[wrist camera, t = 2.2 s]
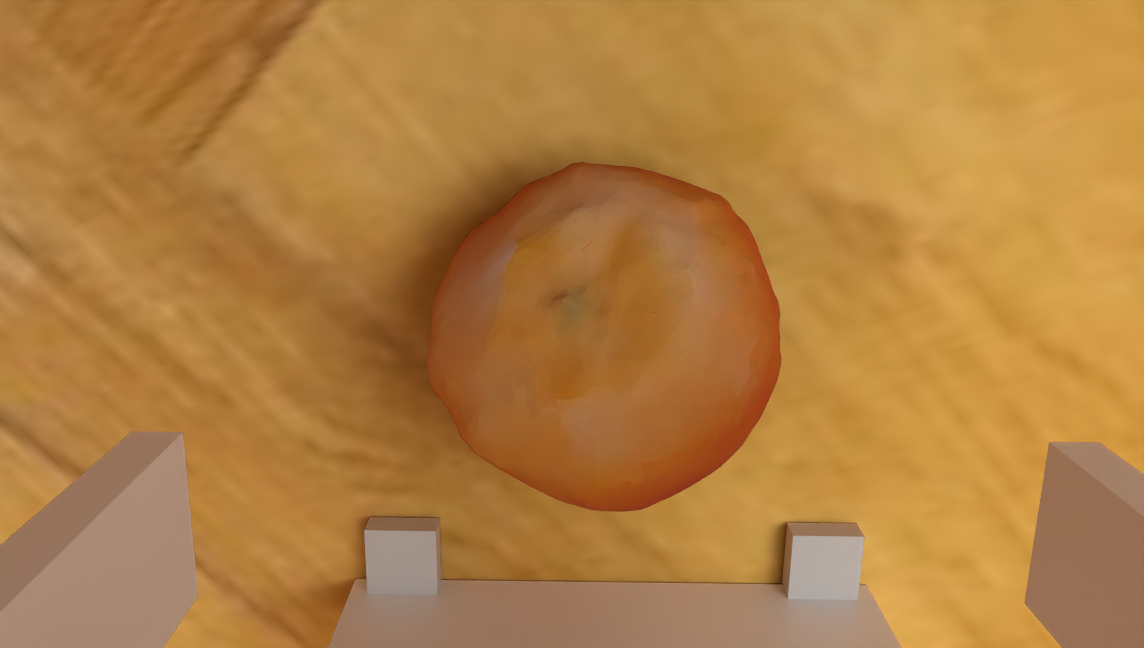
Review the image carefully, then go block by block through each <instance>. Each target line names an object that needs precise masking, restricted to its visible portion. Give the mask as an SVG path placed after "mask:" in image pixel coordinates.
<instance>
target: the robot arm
mask: <svg viewBox="0 0 1144 648" xmlns="http://www.w3.org/2000/svg"><path fill="white" fill-rule="evenodd" d="M197 597H198V586H197V575H196V565H195V554H194V544H193V533H192V522H191V512H190V501H189V491H188V480H187V470H186V459H185V448H184V438H183V432H131V433H130V434H128V435H127V436H126V437H125V438H124V439H123V440H121V441H120V442H119V443H118V444H117V445H116V446H115V447H113V448H112V449H111V450H110V451H109V452H108V453H106V454H105V455H104V456H103V457H102V458H101V459H100V460H98V461H97V462H96V463H95V464H94V465H93V466H91V467H90V468H89V469H88V470H87V471H86V472H85V473H83V474H82V475H81V476H80V477H79V478H78V479H76V480H75V481H74V482H73V483H72V484H71V485H69V486H68V487H67V488H66V489H65V490H64V491H63V492H61V493H60V494H59V495H58V496H57V497H56V498H54V499H53V500H52V501H51V502H50V503H49V504H48V505H46V506H45V507H44V508H43V509H42V510H41V511H39V512H38V513H37V514H36V515H35V516H34V517H33V518H31V519H30V520H29V521H28V522H27V523H26V524H24V525H23V526H22V527H21V528H20V529H19V530H18V531H16V532H15V533H14V534H13V535H12V536H11V537H9V538H8V539H7V540H6V541H5V542H4V543H3V544H1V545H0V648H163V647H164V645H165V644H166V643H167V641H168V640H169V638H170V637H171V635H172V634H173V632H174V631H175V629H176V628H177V626H178V625H179V623H180V622H181V620H182V619H183V617H184V616H185V615H186V613H187V612H188V610H189V609H190V607H191V606H192V604H193V603H194V601H195V600H196V598H197ZM1025 604H1026V606H1027V607H1028V608H1029V609H1030V610H1031V611H1032V613H1033V614H1034V615H1035V616H1036V617H1037V619H1038V620H1039V621H1040V622H1041V623H1042V624H1043V626H1044V627H1045V628H1046V629H1047V630H1048V632H1049V633H1050V634H1051V635H1052V636H1053V637H1054V639H1055V640H1056V641H1057V642H1058V643H1059V645H1060V646H1061V647H1062V648H1144V474H1142V473H1141V472H1140V471H1138V470H1137V469H1135V468H1134V467H1133V466H1131V465H1130V464H1129V463H1127V462H1126V461H1124V460H1123V459H1122V458H1120V457H1119V456H1117V455H1116V454H1115V453H1113V452H1112V451H1110V450H1109V449H1108V448H1106V447H1105V446H1103V445H1102V444H1101V443H1099V442H1049V446H1048V453H1047V459H1046V466H1045V472H1044V479H1043V486H1042V492H1041V499H1040V505H1039V512H1038V518H1037V525H1036V531H1035V538H1034V544H1033V551H1032V557H1031V564H1030V570H1029V577H1028V583H1027V590H1026V597H1025Z"/></svg>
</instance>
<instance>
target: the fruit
mask: <svg viewBox="0 0 1144 648" xmlns="http://www.w3.org/2000/svg"><path fill="white" fill-rule="evenodd" d="M779 317H780V311H779V304H778V300H777V298H776V296H775V294H774V292H773V289H772V286H771V283H770V280H769V276H768V274H767V271H766V269H765V266H764V264H763V261H762V258H761V255H760V252H759V250H758V247H757V244H756V241H755V239H754V237H753V235H752V233H751V231H750V229H749V227H748V226H747V225H746V223H745V222H744V221H743V220H742V219H741V218H740V217H739V216H737V215H736V213H735V212H734V211H733V209H732V207H731V205H730V204H729V202H728V201H727V200H726V199H725V198H723V197H722V196H720V195H718V194H715V193H712V192H710V191H707V190H705V189H702V188H699V187H696V186H694V185H691V184H689V183H686V182H683V181H680V180H677V179H674V178H671V177H668V176H665V175H662V174H659V173H655V172H652V171H648V170H644V169H640V168H635V167H626V166H613V165H599V164H589V163H584V162H580V163H574V164H570V165H569V166H567V167H566V168H564V169H563V170H560V171H558V172H556V173H554V174H551V175H549V176H546V177H544V178H541V179H539V180H536V181H534V182H531V183H529V184H527V185H526V186H525V187H523V188H522V189H521V190H520V191H519V192H518V193H517V194H516V195H515V196H514V197H513V198H512V199H511V200H510V201H509V202H508V203H507V204H506V205H505V206H504V207H503V208H502V209H501V210H500V211H499V212H497V213H496V214H494V215H493V216H492V217H490V218H489V219H487V220H486V221H485V222H483V223H482V224H480V225H479V226H478V227H477V228H475V229H474V230H473V231H472V232H470V233H469V234H468V235H467V236H466V238H465V239H464V240H463V242H462V243H461V245H460V247H459V248H458V250H457V252H456V253H455V255H454V257H453V259H452V261H451V263H450V265H449V267H448V270H447V272H446V274H445V276H444V279H443V281H442V283H441V285H440V287H439V289H438V291H437V293H436V296H435V298H434V303H433V312H432V322H431V334H430V342H429V348H428V354H427V362H426V368H427V372H428V375H429V378H430V381H431V385H432V389H433V391H434V393H435V394H436V395H437V396H438V397H439V398H440V399H441V400H442V402H443V403H444V404H445V406H446V408H447V409H448V411H449V413H450V414H451V416H452V418H453V420H454V422H455V423H456V426H457V429H458V432H459V434H460V436H461V438H462V439H463V440H464V441H465V442H466V443H467V444H468V445H469V446H470V448H471V449H472V450H473V451H474V452H475V453H476V454H477V455H478V456H480V457H482V458H483V459H485V460H486V461H488V462H489V463H491V464H492V465H494V466H496V467H497V468H499V469H501V470H502V471H504V472H506V473H508V474H509V475H511V476H513V477H515V478H517V479H518V480H520V481H522V482H524V483H526V484H528V485H529V486H531V487H533V488H535V489H537V490H539V491H541V492H543V493H545V494H547V495H549V496H551V497H553V498H555V499H557V500H560V501H563V502H565V503H568V504H572V505H576V506H579V507H583V508H586V509H590V510H599V511H619V512H620V511H633V510H641V509H644V508H647V507H649V506H651V505H653V504H655V503H658V502H660V501H662V500H664V499H667V498H669V497H671V496H673V495H675V494H677V493H679V492H681V491H682V490H684V489H686V488H688V487H690V486H692V485H693V484H695V483H696V482H698V481H700V480H701V479H703V478H705V477H706V476H708V475H710V474H711V473H712V472H714V471H715V470H717V469H718V468H720V467H721V466H722V465H723V464H724V463H725V462H726V461H727V460H728V459H729V458H730V457H731V456H732V455H733V454H734V453H735V452H736V451H737V450H738V449H739V448H740V447H741V446H742V444H743V443H744V441H745V440H746V438H747V437H748V435H749V433H750V432H751V430H752V429H753V427H754V426H755V425H756V423H757V422H758V420H759V419H760V417H761V415H762V413H763V411H764V409H765V407H766V405H767V402H768V400H769V398H770V396H771V394H772V392H773V389H774V387H775V384H776V382H777V379H778V375H779V371H780V366H781V354H780V333H779Z"/></svg>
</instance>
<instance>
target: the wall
mask: <svg viewBox="0 0 1144 648" xmlns="http://www.w3.org/2000/svg"><path fill="white" fill-rule="evenodd" d="M364 536H365V557H366V579H355V581H354V584H353V586H352V589H351V591H350V594H349V596H348V599H347V601H346V604H345V606H344V609H343V611H342V614H341V616H340V619H339V621H338V624H337V626H336V629H335V631H334V634H333V636H332V639H331V641H330V644H329V646H328V648H901V646H900V644H899V642H898V641H897V639H896V637H895V635H894V633H893V632H892V630H891V628H890V626H889V624H888V623H887V621H886V619H885V617H884V615H883V613H882V612H881V610H880V608H879V606H878V604H877V603H876V601H875V599H874V597H873V595H872V594H871V592H870V590H869V588H868V586H867V585H859V583H860V574H861V564H862V555H863V546H864V535H863V533H862V532H861V530H860V528H859V527H858V525H857V523H792V522H787V530H786V542H785V554H784V566H783V578H782V584H725V583H645V582H565V581H486V580H441V558H440V518H405V517H370V518H369V520H368V523H367V525H366V527H365V530H364Z"/></svg>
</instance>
